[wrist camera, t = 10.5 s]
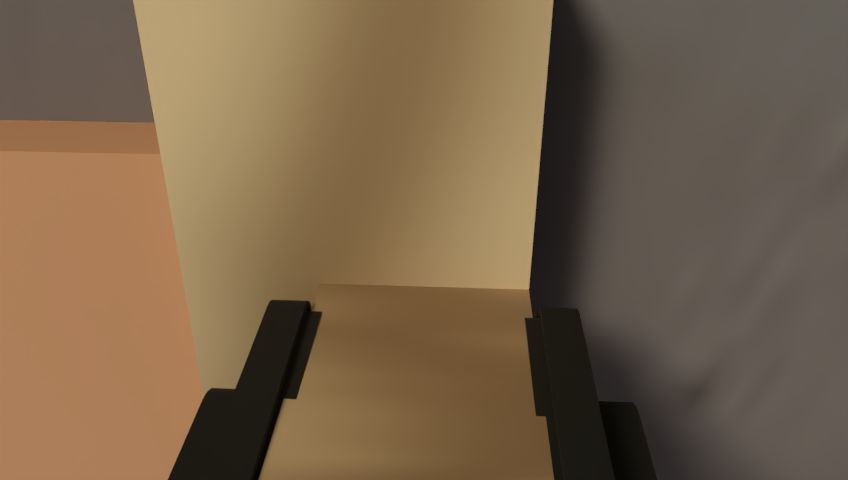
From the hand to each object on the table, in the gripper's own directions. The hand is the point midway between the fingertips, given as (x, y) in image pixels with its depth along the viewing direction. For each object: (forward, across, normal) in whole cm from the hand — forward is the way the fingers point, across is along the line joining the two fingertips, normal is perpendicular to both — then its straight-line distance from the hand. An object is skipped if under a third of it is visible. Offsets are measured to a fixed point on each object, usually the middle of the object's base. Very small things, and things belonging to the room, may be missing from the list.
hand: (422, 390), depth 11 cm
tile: (+3, +7, 0) cm, 8 cm away
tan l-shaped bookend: (+2, 0, 0) cm, 2 cm away
